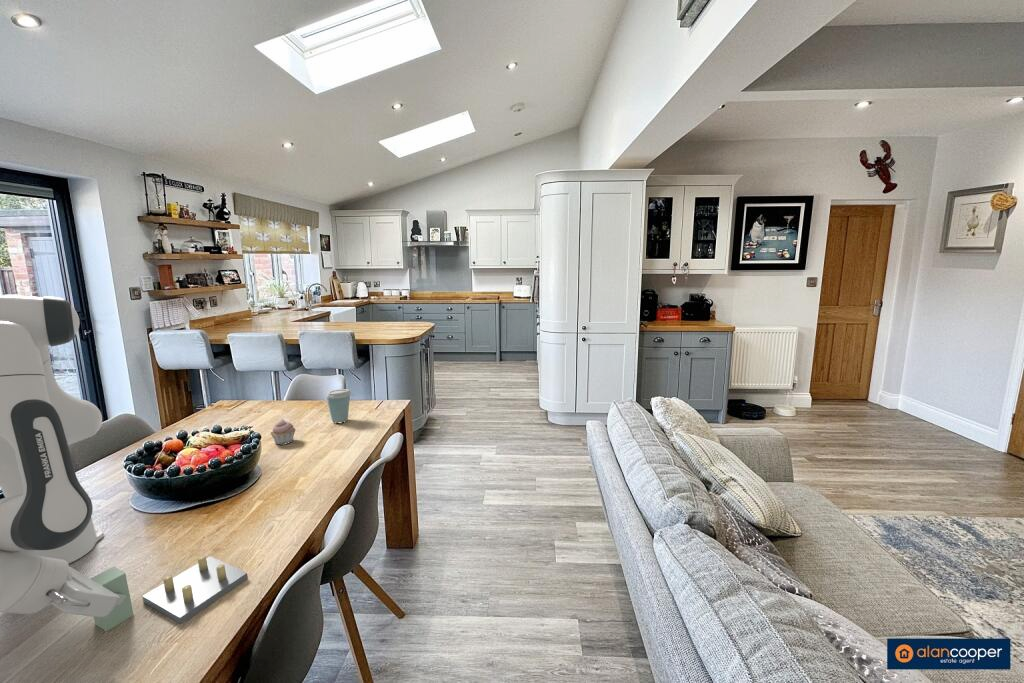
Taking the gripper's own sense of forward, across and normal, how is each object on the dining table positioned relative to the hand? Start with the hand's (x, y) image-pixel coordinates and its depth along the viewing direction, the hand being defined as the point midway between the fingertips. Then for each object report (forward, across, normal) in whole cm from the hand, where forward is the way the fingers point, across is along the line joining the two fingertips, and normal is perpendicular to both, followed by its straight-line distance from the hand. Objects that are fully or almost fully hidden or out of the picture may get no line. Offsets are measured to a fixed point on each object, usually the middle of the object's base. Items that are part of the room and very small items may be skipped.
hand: (113, 594), depth 88 cm
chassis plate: (+12, -7, -4) cm, 14 cm away
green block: (+3, 0, +4) cm, 5 cm away
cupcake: (+57, +48, -49) cm, 90 cm away
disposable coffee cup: (+76, +45, -68) cm, 112 cm away
